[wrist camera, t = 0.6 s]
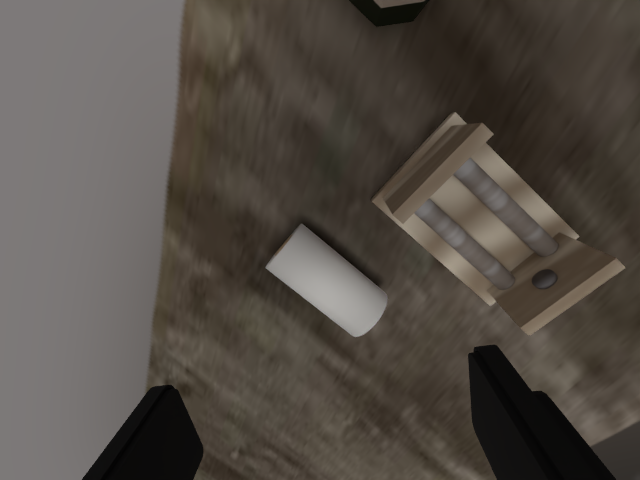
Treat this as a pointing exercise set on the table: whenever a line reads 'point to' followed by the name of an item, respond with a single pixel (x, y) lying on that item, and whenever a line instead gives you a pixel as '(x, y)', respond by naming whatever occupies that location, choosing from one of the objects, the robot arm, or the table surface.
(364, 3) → the wine bottle
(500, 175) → the roll cradle
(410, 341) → the table surface
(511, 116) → the table surface
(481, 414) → the robot arm
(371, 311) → the paper roll
